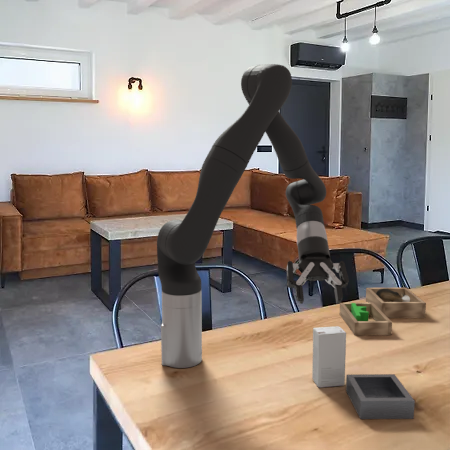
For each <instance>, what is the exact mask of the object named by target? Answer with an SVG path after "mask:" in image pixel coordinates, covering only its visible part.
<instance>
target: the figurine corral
mask: <svg viewBox="0 0 450 450" xmlns="http://www.w3.org/2000/svg"><path fill="white" fill-rule="evenodd" d="M384 288H385V289H389V290H392V291H394V292H398V293H399V295H400V298H402V296H401V292H402V293H403V294H404V295H407V296H409V297H410V302H392V301H389V300H384V299H381V298H380V297H378V296H377V295H376V292H377V291H378V290H379V289H384ZM367 302H368V303H374V304H375V305H376V306H377V307H378V308H379V309H380V310H381V311H382V312H383V313H384V314H385V316H386V317H387V318H388V319H390V318H391V319H394V318H395V319H404V318H405V319H407V318H409V319H413V318H416V319H417V318H419V319H420V318H422V319H424V318H425V319H426V311H427V310H426V309H427V302H426V301H424V300H423V299H421V298H420V297H419V296H417V294H415V293H413V292H412V291H411V290H410V289H408V287H366V289H365V303H367Z"/></svg>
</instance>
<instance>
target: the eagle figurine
mask: <svg viewBox="0 0 450 450" xmlns="http://www.w3.org/2000/svg"><path fill="white" fill-rule="evenodd" d="M383 288H384V289H379V290H378V291H377V292H376V295H377V296H378V297H380V298H381V299H384V300H389V301H392V302H410V297H409V296H407V295H404V294H403V293H402V292H401V296H402V298H400V295H399V293H398V292H394V291H392V290H389V289H385V288H386V287H383Z"/></svg>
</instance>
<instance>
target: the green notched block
mask: <svg viewBox="0 0 450 450" xmlns="http://www.w3.org/2000/svg"><path fill="white" fill-rule="evenodd" d="M350 303H351V313H352V315H353V316H354V317H355V319H356V320H357V321H369V318H370V317H369V316H370V315H369V312H367V311H366V307H364V306H356V303H357V302H350Z"/></svg>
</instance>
